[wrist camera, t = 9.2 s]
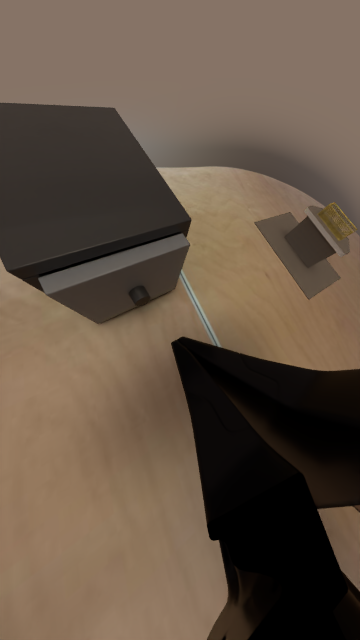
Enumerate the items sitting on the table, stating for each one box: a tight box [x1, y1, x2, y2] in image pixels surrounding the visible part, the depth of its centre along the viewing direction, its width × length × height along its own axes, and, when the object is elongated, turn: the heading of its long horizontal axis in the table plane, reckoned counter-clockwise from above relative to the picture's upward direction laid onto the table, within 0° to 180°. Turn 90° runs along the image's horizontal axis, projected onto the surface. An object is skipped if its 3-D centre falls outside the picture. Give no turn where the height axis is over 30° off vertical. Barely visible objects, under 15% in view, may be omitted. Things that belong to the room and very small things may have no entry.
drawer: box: [38, 233, 190, 324], centre depth 13 cm, size 13×10×7 cm
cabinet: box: [0, 103, 191, 293], centre depth 13 cm, size 13×11×9 cm
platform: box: [254, 202, 357, 299], centre depth 23 cm, size 12×18×7 cm, turn 29°
